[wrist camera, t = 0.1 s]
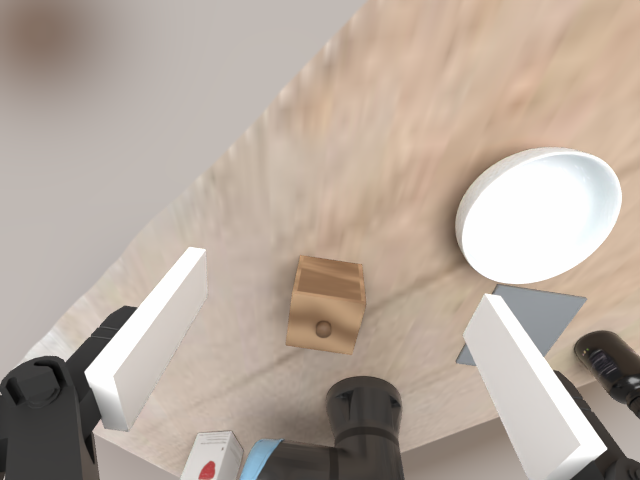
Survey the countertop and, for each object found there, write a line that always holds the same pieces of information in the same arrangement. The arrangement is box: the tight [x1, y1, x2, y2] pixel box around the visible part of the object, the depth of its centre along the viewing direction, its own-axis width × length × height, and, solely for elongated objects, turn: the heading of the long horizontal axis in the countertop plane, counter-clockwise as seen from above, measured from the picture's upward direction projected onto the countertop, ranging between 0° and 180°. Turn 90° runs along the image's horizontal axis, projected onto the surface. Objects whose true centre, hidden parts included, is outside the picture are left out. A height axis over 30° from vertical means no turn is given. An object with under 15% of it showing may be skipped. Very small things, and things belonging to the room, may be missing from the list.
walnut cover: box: [286, 255, 366, 355], centre depth 45 cm, size 10×10×10 cm
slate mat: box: [456, 284, 587, 366], centre depth 52 cm, size 18×14×1 cm
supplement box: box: [180, 431, 243, 480], centre depth 68 cm, size 9×9×15 cm
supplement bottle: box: [575, 331, 640, 419], centre depth 47 cm, size 7×7×12 cm
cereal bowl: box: [455, 147, 622, 284], centre depth 38 cm, size 17×17×7 cm
